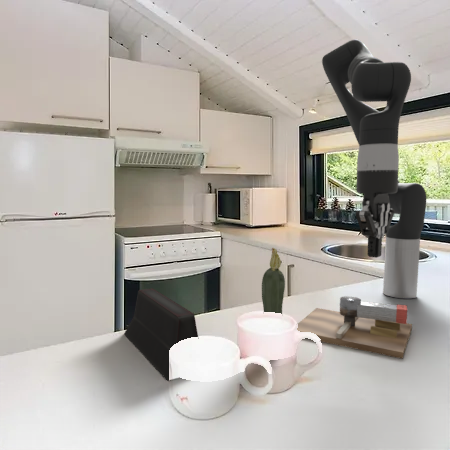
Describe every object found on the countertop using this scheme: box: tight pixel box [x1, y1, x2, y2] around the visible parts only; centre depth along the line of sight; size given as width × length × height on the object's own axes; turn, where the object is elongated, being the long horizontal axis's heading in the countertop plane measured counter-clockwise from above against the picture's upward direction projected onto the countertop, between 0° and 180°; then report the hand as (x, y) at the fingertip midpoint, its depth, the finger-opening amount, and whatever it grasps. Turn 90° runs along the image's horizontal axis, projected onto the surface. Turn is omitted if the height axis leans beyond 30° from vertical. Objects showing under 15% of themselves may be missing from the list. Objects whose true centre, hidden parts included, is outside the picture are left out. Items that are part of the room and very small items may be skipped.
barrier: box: [123, 287, 199, 382], centre depth 75 cm, size 24×9×10 cm, turn 31°
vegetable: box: [261, 247, 286, 315], centre depth 74 cm, size 4×4×20 cm
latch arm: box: [339, 295, 408, 324], centre depth 85 cm, size 14×4×3 cm, turn 67°
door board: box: [297, 307, 413, 360], centre depth 86 cm, size 18×22×3 cm
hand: (374, 256), depth 78 cm, fingers closed
